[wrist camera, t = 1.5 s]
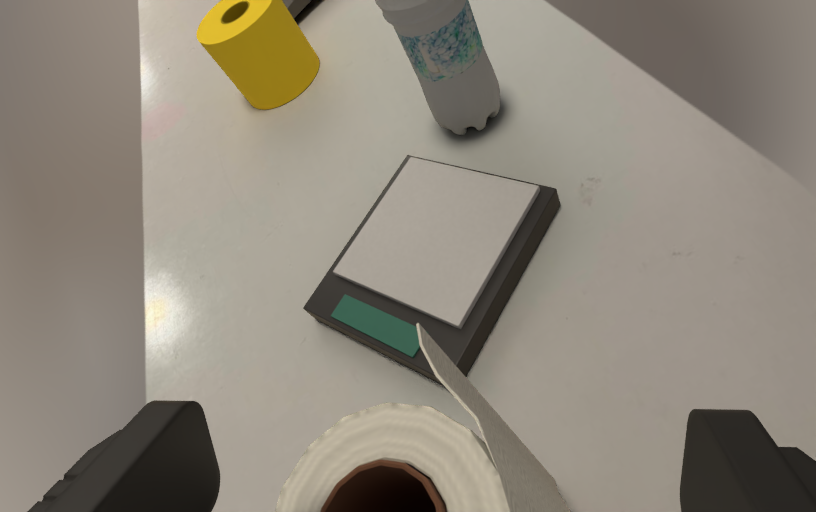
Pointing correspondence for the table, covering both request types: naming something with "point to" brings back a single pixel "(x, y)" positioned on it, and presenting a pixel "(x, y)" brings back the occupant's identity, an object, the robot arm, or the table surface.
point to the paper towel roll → (421, 459)
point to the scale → (434, 261)
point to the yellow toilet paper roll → (259, 50)
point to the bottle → (447, 60)
